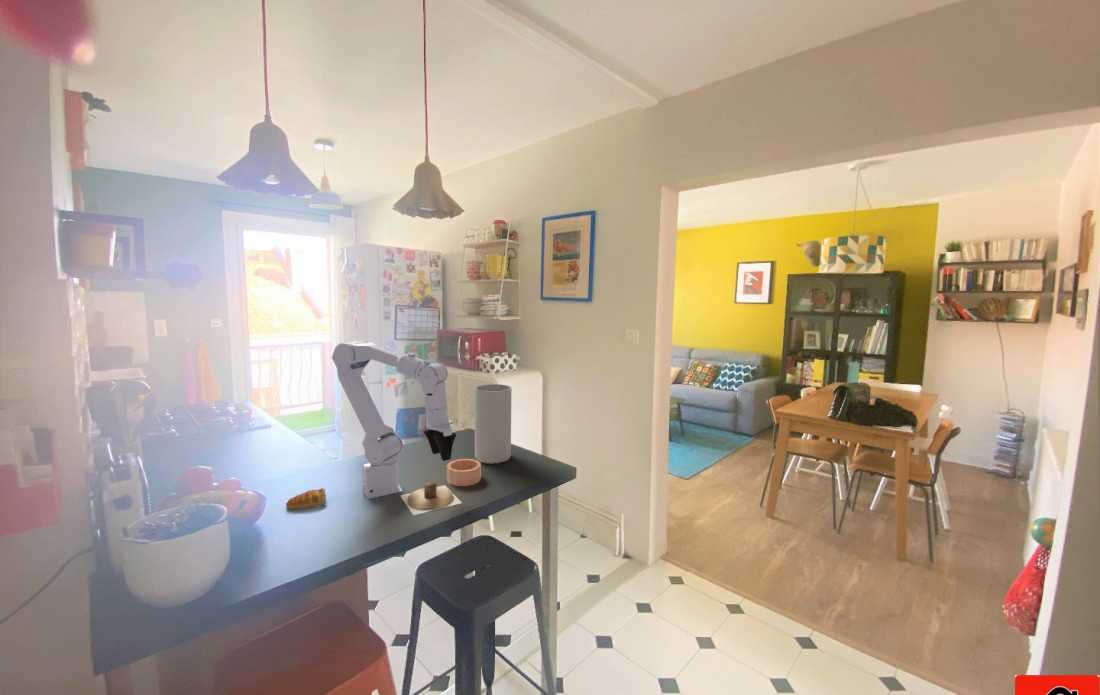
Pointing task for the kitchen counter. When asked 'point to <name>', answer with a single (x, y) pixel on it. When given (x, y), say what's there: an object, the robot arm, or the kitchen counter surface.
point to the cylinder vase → (492, 423)
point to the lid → (430, 497)
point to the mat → (419, 511)
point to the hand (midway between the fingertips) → (441, 456)
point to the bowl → (463, 472)
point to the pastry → (307, 500)
